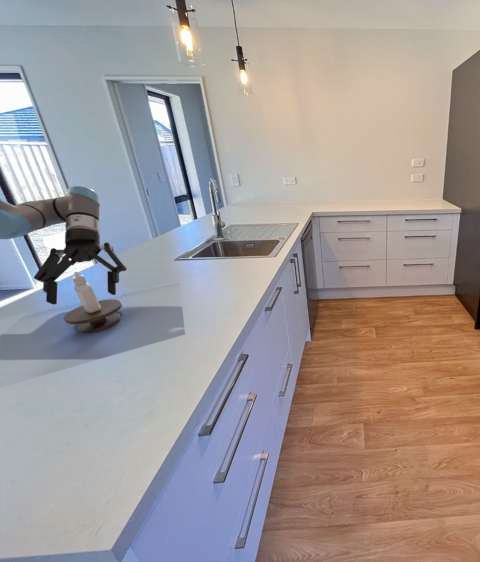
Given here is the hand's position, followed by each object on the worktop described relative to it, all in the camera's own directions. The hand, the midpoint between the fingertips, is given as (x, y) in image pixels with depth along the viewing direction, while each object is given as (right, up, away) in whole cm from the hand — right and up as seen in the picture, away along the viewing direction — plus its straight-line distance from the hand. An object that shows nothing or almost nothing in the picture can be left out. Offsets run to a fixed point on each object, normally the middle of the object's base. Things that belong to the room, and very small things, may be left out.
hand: (82, 298), depth 85 cm
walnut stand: (-1, -8, +6) cm, 10 cm away
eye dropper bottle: (-1, -4, +4) cm, 6 cm away
